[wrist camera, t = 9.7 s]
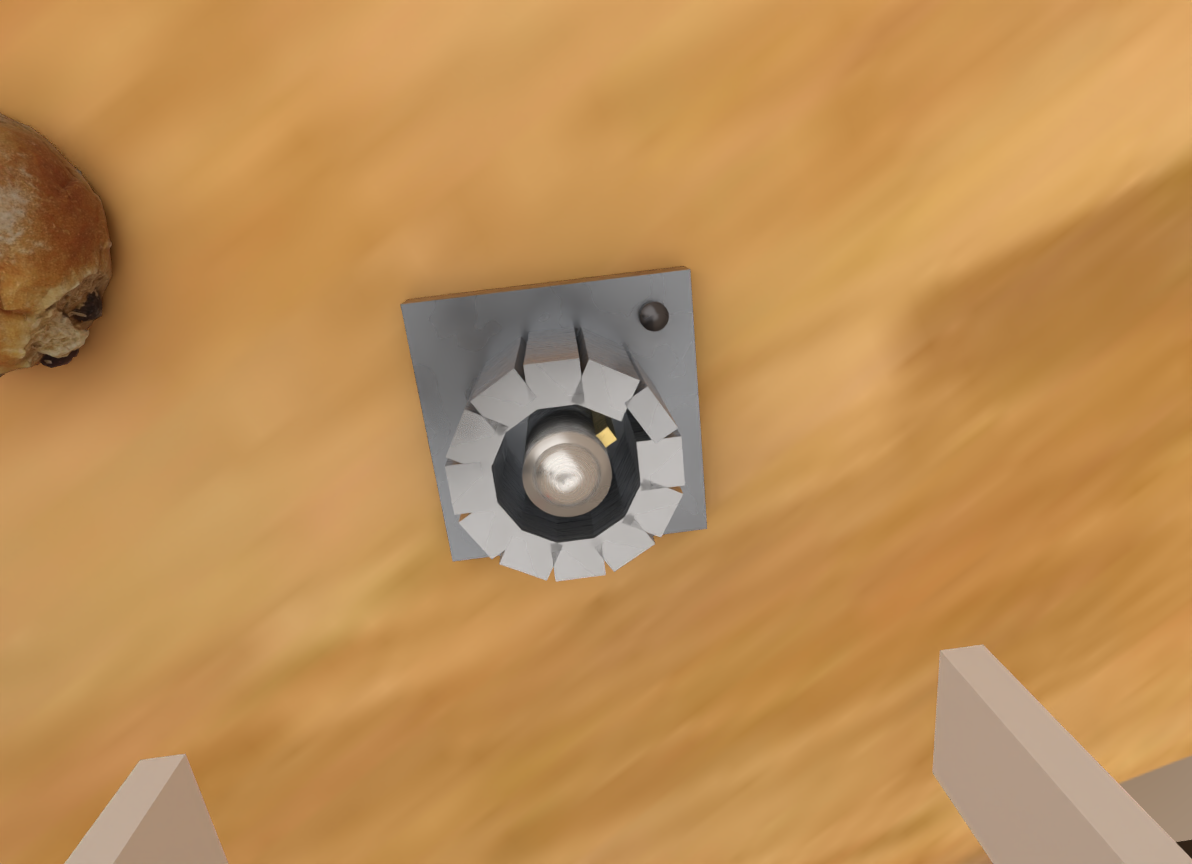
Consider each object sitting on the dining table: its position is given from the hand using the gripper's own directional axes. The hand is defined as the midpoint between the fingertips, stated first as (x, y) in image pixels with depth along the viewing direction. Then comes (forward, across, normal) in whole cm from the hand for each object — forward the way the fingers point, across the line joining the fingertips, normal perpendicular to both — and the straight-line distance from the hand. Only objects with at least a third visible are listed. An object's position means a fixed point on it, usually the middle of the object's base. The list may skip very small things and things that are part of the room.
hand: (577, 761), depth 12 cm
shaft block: (+21, 0, 0) cm, 21 cm away
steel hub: (+19, 0, 0) cm, 19 cm away
